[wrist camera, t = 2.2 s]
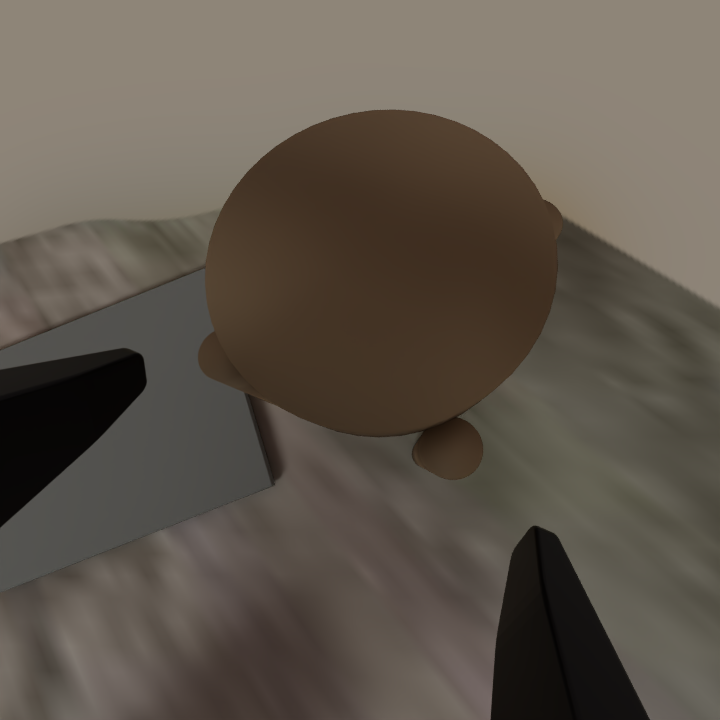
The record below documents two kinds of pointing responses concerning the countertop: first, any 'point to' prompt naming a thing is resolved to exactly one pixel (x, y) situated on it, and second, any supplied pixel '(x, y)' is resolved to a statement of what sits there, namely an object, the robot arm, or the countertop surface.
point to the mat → (139, 438)
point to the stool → (381, 279)
